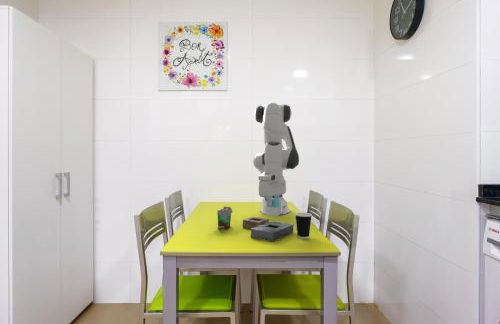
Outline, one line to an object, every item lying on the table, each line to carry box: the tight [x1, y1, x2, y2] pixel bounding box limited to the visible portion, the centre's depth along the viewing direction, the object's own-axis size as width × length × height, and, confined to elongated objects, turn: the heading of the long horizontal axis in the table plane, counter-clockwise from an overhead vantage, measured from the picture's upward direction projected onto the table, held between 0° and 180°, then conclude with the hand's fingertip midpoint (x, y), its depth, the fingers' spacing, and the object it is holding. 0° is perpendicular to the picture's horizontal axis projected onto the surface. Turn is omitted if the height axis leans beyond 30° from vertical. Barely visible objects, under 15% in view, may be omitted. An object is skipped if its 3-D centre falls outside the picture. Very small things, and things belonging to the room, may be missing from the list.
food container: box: [216, 206, 233, 230], centre depth 162 cm, size 12×6×10 cm, turn 168°
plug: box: [266, 198, 280, 217], centre depth 148 cm, size 3×5×8 cm, turn 56°
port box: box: [250, 220, 295, 242], centre depth 149 cm, size 20×12×4 cm, turn 146°
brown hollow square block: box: [242, 216, 270, 230], centre depth 164 cm, size 10×10×4 cm
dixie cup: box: [294, 212, 313, 240], centre depth 144 cm, size 8×8×11 cm
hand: (273, 204), depth 148 cm, fingers closed on plug, 3 cm apart
